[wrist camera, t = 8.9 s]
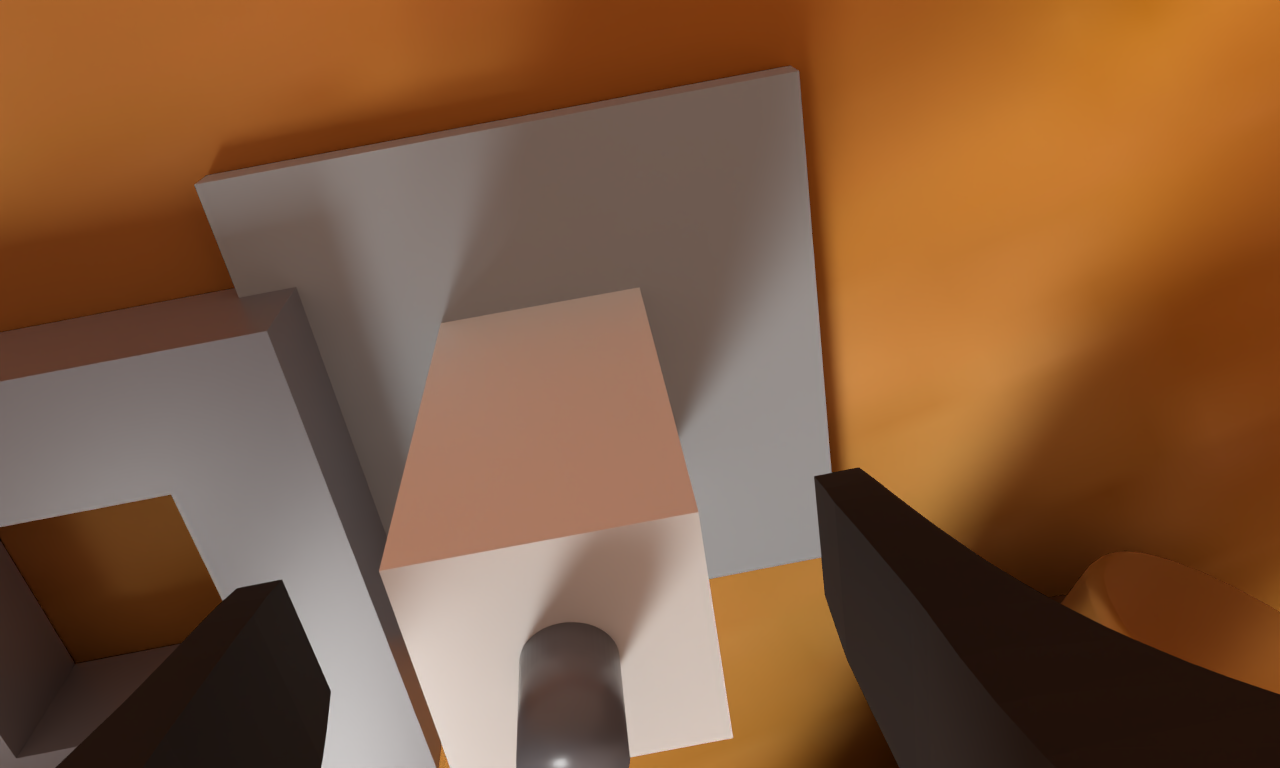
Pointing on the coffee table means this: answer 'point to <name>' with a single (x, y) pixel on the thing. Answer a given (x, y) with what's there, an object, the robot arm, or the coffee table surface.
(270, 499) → the socket block
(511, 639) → the plug
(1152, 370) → the coffee table surface
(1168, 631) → the muzzle brake
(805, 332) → the rubber pad
